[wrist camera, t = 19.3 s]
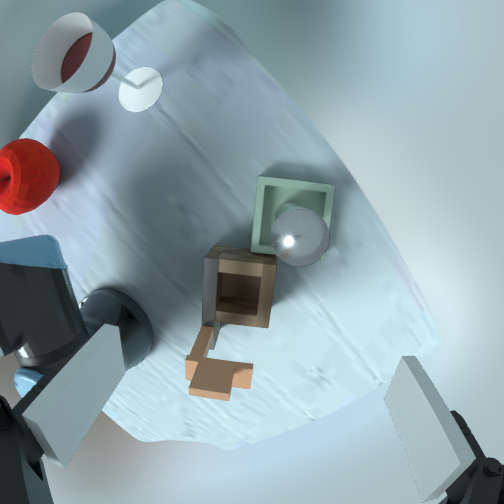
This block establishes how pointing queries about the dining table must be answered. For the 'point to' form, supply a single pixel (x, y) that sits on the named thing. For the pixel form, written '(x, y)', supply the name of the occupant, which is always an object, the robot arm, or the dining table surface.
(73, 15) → the wineglass
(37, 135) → the dining table surface
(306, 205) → the dish
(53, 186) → the apple
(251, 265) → the block
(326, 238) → the pin
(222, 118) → the dining table surface
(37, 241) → the robot arm
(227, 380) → the keeper
